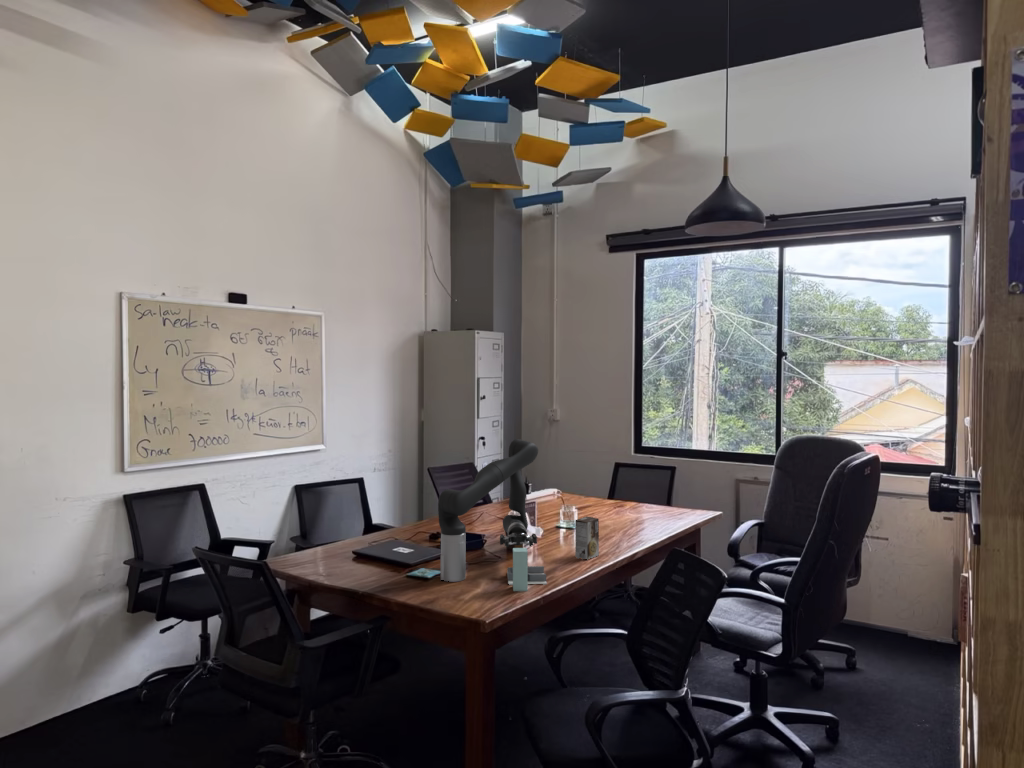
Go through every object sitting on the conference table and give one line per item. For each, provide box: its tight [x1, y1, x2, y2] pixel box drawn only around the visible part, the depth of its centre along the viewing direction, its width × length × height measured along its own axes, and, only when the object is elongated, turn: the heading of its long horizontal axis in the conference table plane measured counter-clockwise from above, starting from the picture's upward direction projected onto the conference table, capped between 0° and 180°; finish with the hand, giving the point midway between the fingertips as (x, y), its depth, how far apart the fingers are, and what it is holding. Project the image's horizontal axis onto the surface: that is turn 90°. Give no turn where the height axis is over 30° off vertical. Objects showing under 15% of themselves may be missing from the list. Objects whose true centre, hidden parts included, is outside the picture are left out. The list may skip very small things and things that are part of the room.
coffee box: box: [574, 516, 600, 561], centre depth 279 cm, size 9×6×16 cm
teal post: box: [512, 547, 529, 592], centre depth 236 cm, size 5×5×14 cm
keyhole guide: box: [506, 565, 548, 586], centre depth 249 cm, size 14×15×3 cm
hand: (519, 544), depth 248 cm, fingers open, 8 cm apart
